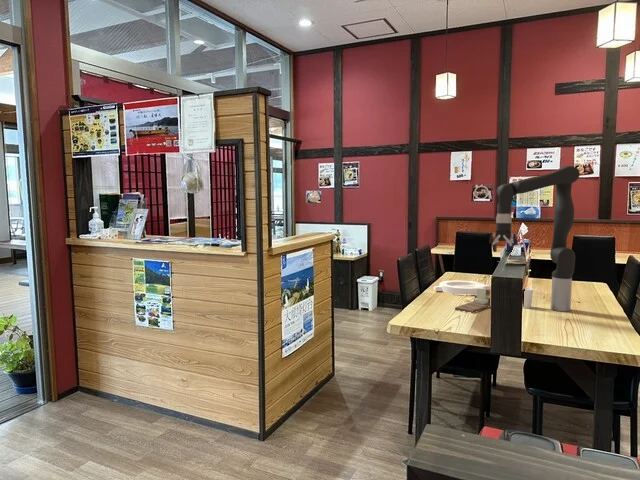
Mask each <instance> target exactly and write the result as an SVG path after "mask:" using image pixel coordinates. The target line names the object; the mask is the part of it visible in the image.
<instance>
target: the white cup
mask: <svg viewBox="0 0 640 480" xmlns="http://www.w3.org/2000/svg"><path fill="white" fill-rule="evenodd" d="M533 293H534V289H533V288H531V287H525V291H524V308H523V309H531V308H532V301H533Z"/></svg>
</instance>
